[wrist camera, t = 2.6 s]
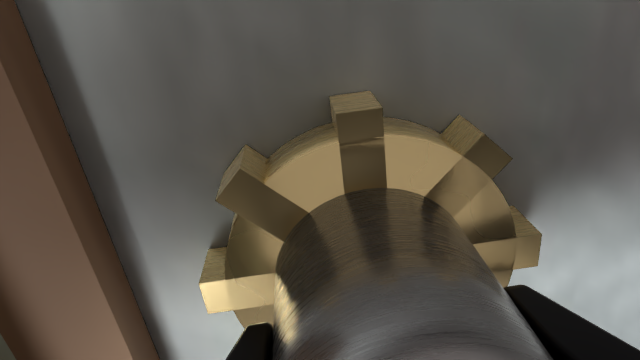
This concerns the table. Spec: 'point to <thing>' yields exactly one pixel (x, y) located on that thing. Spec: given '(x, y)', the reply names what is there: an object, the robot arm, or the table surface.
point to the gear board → (53, 230)
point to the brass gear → (375, 243)
